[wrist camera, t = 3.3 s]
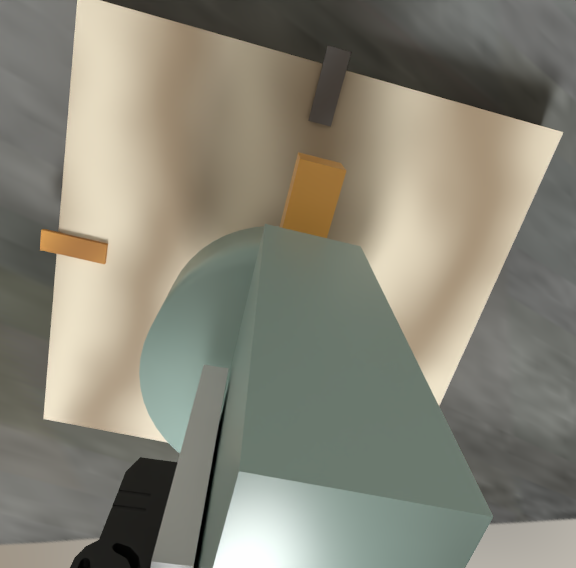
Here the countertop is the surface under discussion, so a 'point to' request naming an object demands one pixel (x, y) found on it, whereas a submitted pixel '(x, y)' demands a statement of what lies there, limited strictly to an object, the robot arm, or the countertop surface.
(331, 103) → the base
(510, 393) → the countertop surface
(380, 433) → the mint bar with ball
